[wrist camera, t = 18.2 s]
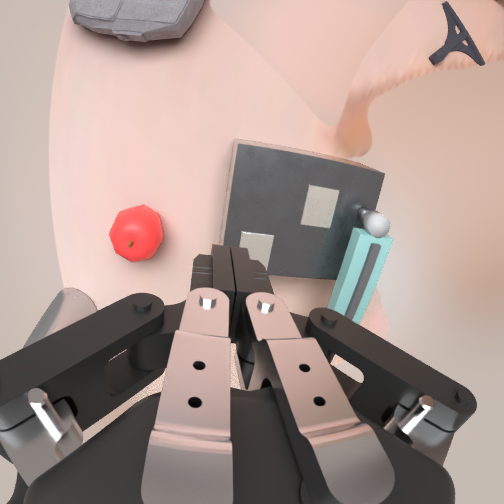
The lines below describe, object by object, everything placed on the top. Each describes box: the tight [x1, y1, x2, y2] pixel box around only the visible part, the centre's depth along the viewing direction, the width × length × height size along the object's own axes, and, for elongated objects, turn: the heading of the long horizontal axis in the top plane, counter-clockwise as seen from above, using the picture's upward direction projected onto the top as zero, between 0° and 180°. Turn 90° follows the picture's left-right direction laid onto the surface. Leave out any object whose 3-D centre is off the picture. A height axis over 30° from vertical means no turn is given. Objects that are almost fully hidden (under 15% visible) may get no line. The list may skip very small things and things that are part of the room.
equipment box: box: [219, 139, 385, 280], centre depth 38 cm, size 16×19×10 cm
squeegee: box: [429, 1, 485, 66], centre depth 31 cm, size 14×15×3 cm
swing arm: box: [327, 211, 393, 324], centre depth 36 cm, size 18×5×3 cm, turn 170°
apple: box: [109, 205, 164, 262], centre depth 38 cm, size 8×8×8 cm
